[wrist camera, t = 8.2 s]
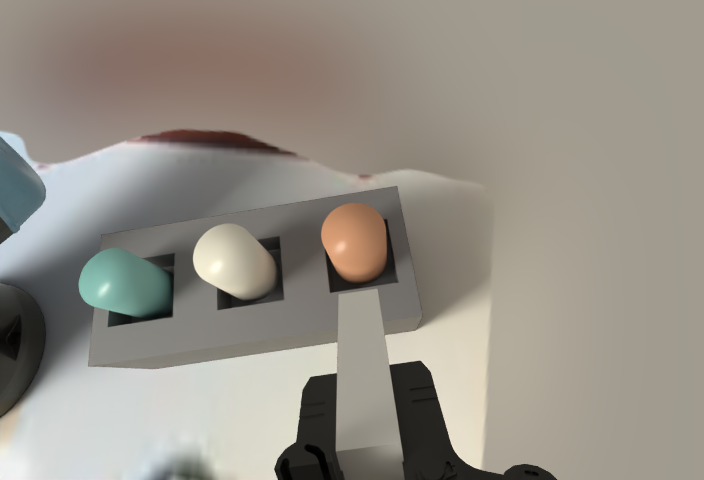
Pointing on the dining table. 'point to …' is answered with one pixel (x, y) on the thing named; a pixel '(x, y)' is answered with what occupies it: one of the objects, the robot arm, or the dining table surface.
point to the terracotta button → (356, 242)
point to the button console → (263, 315)
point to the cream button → (235, 263)
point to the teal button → (127, 285)
